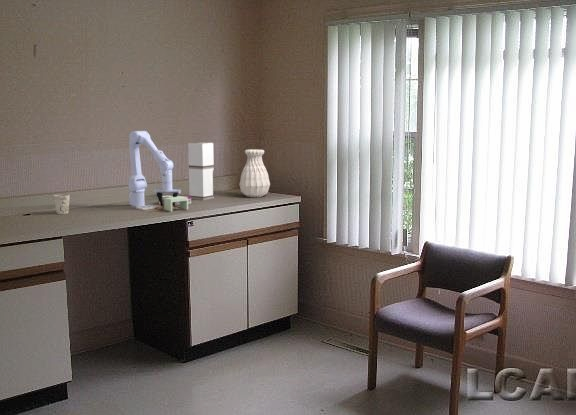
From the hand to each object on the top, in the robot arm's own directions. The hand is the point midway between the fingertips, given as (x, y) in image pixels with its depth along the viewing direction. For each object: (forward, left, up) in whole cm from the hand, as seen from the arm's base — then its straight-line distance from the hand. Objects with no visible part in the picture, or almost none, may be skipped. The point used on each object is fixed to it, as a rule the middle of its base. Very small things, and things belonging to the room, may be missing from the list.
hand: (167, 205), depth 371 cm
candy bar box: (-6, +18, 0) cm, 19 cm away
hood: (+9, 0, -1) cm, 9 cm away
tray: (-7, -10, -1) cm, 12 cm away
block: (0, 0, -1) cm, 1 cm away
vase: (-10, +71, -2) cm, 72 cm away
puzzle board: (-1, -4, -2) cm, 5 cm away
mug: (-30, -49, -2) cm, 58 cm away
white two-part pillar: (-25, +40, -2) cm, 47 cm away
